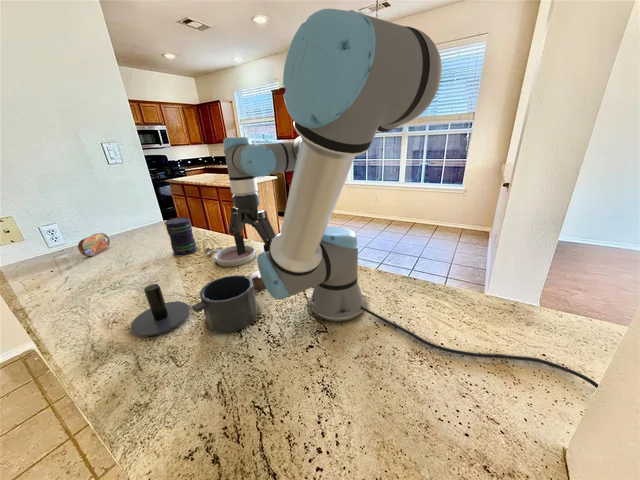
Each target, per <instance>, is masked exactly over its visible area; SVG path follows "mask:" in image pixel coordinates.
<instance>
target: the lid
mask: <svg viewBox="0 0 640 480" xmlns="http://www.w3.org/2000/svg"><path fill="white" fill-rule="evenodd" d="M161 288H162V287H161V285H160V284H159V283H152V284H149V285H147V286H146V287H144V289H143V291H144V294H145V297H146V300H147V302H148V305H149V308H148V309H146V310H144V311H142V312H141V313H140V314H138V315H137V316H136V317H135V318H134V319H133V320H132V322H131V324H130V331H131V333H132V334H133V335H134V336H138V337H143V338H145V337H153V336H158V335H161V334H164V333H166V332H169V331H171V330H173V329H175V328H177V327H179V326H180V325H181V324H182V323H184V322H185V321H186V320H187V319H188V317H189V316H190V314H191V307H190V305H189V304H188V303H186V302H183V301H169V302H166V301H165V298H164V295H163V292H162V289H161Z"/></svg>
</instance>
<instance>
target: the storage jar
mask: <svg viewBox="0 0 640 480" xmlns="http://www.w3.org/2000/svg"><path fill="white" fill-rule="evenodd" d="M164 223H165V227H166V231H167V234H168V236H169V239H170V246H171V250H172V252H173V255H174V256H176V257H181V256H182V257H183V256H188V255H192V254H194V253H195V252H197V250H198V248H197V243H196V241H195V240H196V239H195V237H194V233H193V227H192V223H191V219H190V218H189V217H187V216H185V217H176V218H171V219H168V220H166V221H165V222H164Z"/></svg>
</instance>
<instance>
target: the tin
mask: <svg viewBox="0 0 640 480" xmlns="http://www.w3.org/2000/svg"><path fill="white" fill-rule="evenodd" d="M110 242H111V241H110V238H109V236H108V234H106V233H104V232H98V233H97V232H96V233H94V234H92V235H90V236H87V237H85V238H82V239H81V240H80V241H79V242H78V243H77V249H78V252H79V253H80V254H81V255H82V256H84V257H93V256H96V255H97V254H99V253H102V252H103V251H105V250H108V248H110V244H111V243H110ZM106 246H107V247H106Z"/></svg>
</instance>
